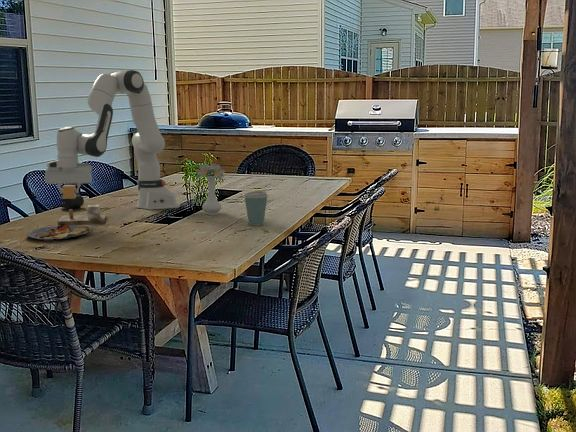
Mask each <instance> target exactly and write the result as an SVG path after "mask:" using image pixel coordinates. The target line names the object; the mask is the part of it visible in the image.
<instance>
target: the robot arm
mask: <svg viewBox="0 0 576 432" xmlns="http://www.w3.org/2000/svg"><path fill="white" fill-rule="evenodd" d="M118 94H119V95H124V94H126V96H127V97H128V102H129V103H128V104H129V110H130V113H131V120H132V122H133V124H134V126H135V127H136V130H137V132H136V133H134V134H133V136H132V138H131V144H132V146H133V148H134V149H133V150H134V153H135V157H136V162H137V171H138V172H137V173H138V180H137V190H138V196H137V202H136V203H137V204H136V208H138V209H143V210H145V209H146V210H162V209H177V208H180V207H181V203H180V202H178V201H177V199H176V195H175V194H174V192H173V191H171V190H170V189H168V188H167V187H166V181H165V180H163V179H161V165H160V162H159V160H158V156H157V154H158V153H161V152H162V151H163V150H164V149H165V146H166V141H165V139H164V137H163V135H162V133H161V131H160V128H159V126H158V123H157V121H156V117H155V112H154V107H153V102H152V97H151V95H150V91H149V88H148V86H147V84H146V83H144V77H143V76H142V74H141V73H140V72H139V71H137V70H134V69H128V70H127V69H125V70H119V71H114V72H110V73H107V72H106V73H104V72H103V73H101V74H100V75H98V77H97V78H96V80H95V81H94V83H93V85H92V87H91V89H90V91H89V94H88V98H87V105H88V107H89V108H90V110H91V111H93V112H94V113H95V114H97V115H98V120H97V123H96V127H95V131H94V132H93V133H91V134H86V133H83V132H80V131H78V130H77V129H76V128H75V126H66V127H61V128H59V129H57V132H56V149H57V159H54V160H51V161H49V162H47V163H46V167H47V168H46V170H45V174H44V183H45V184H48V185H49V184H50V185H52V184H53V185H54V184H55V185H56V187H57V188H58V190H59V194H61V195H63V188H62V187H61V185H62V184H64V185H65V184H66V185H76V186H77V188H76V189H75V193H76V194H79V190H80V187H81V186H82V185H81V184H91V183H92V181H93V178H92V171H93V167H92V165H91V164H90V163H88V162H85V163H84V162H79V156H78V155H81V156H91V157H95V158H98V157H101V156H103V155H104V154H105V152H106V150H107V147H108V146H107V145H108V138H109V137H108V136H109V133H110V129H111V124H112V120H113V116H114V109H113V102H114V99H115V96H116V95H118Z"/></svg>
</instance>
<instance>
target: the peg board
mask: <svg viewBox="0 0 576 432" xmlns="http://www.w3.org/2000/svg"><path fill="white" fill-rule="evenodd" d="M100 209H101V208H100V204H88V205H87V206H86V213H87V214H77V215H74V209H70V210H68V211H69V212H68V213H69V214H68V215H62V216H61V217H60V218H59V219H58V220H57V226H60V225H61V224H68V225H87V224H88V225H89V224H91V225H92V224H93V225H94V224H95V225H96V224H105V222H106V219H107V214H105V213H104V214H101V210H100Z"/></svg>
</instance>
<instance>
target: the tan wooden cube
mask: <svg viewBox="0 0 576 432" xmlns="http://www.w3.org/2000/svg"><path fill="white" fill-rule="evenodd" d="M61 188H62V189H63V193H62V197H63V199H75V197H76V195H77V193H75V189H77V188H76V184H66V185H65V184H64V185H63V186H62V187H61Z"/></svg>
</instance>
